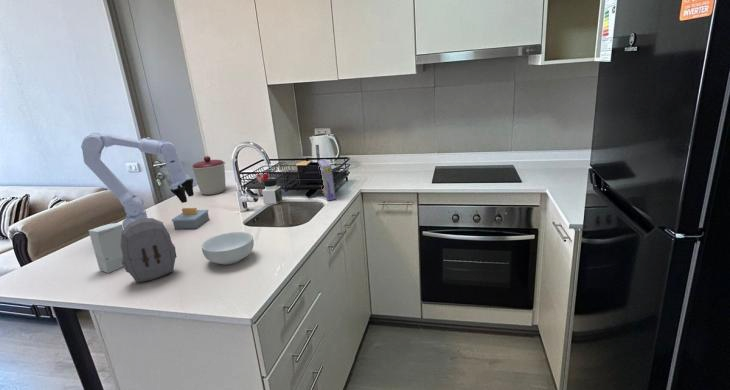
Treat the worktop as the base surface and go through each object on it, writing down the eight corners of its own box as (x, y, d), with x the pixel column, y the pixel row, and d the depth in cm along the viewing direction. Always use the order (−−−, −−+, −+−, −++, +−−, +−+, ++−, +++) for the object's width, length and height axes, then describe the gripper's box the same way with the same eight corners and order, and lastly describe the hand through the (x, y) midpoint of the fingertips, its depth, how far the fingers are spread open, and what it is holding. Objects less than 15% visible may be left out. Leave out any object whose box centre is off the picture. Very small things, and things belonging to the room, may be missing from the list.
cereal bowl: (261, 261, 128) (258, 242, 126) (209, 276, 120) (205, 256, 118) (249, 245, 142) (246, 227, 140) (202, 257, 135) (198, 238, 133)
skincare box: (108, 273, 127) (96, 232, 123) (98, 270, 130) (86, 230, 126) (133, 262, 134) (122, 223, 130) (123, 260, 137) (112, 221, 133)
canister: (219, 197, 209) (212, 159, 203) (190, 197, 212) (182, 160, 206) (236, 187, 226) (229, 152, 220) (208, 188, 229) (201, 153, 223)
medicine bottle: (276, 204, 189) (273, 180, 185) (263, 204, 190) (259, 180, 187) (282, 199, 196) (279, 176, 192) (269, 199, 197) (266, 177, 194)
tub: (196, 228, 163) (194, 220, 162) (174, 229, 164) (172, 220, 163) (209, 219, 173) (207, 211, 172) (188, 220, 174) (186, 212, 173)
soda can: (256, 195, 206) (252, 174, 203) (265, 192, 212) (262, 170, 208) (266, 196, 203) (262, 174, 199) (275, 192, 209) (272, 171, 205)
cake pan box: (320, 191, 205) (317, 159, 200) (330, 190, 206) (326, 158, 201) (326, 201, 187) (322, 166, 182) (336, 200, 188) (332, 165, 183)
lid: (195, 222, 162) (193, 212, 160) (172, 222, 163) (169, 213, 162) (208, 212, 173) (207, 203, 171) (186, 213, 174) (185, 204, 173)
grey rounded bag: (177, 265, 130) (164, 209, 124) (183, 274, 123) (169, 215, 117) (127, 281, 121) (110, 222, 116) (130, 291, 115) (112, 229, 109)
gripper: (178, 172, 156) (190, 203, 161) (191, 163, 169) (202, 191, 174) (161, 176, 156) (174, 206, 161) (176, 166, 170) (187, 194, 174)
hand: (188, 199), depth 167 cm, fingers open, 7 cm apart
